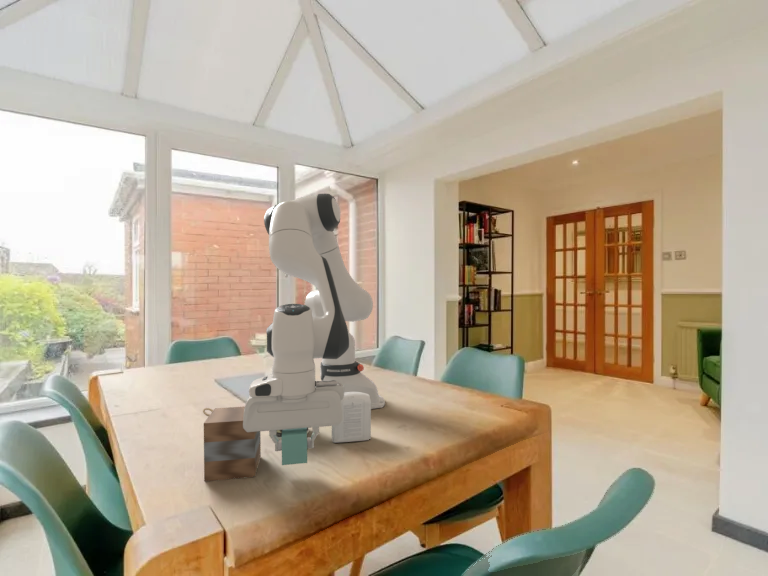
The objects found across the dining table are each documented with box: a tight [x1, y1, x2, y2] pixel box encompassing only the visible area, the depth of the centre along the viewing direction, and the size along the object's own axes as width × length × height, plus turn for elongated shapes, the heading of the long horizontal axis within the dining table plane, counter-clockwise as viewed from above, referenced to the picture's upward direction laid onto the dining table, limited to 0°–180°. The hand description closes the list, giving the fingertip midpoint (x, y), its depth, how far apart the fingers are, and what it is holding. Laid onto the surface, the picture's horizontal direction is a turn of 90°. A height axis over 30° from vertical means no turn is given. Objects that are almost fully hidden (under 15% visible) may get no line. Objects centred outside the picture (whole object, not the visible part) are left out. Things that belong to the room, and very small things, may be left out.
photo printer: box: [331, 392, 372, 444], centre depth 104 cm, size 10×4×12 cm, turn 103°
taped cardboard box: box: [203, 406, 262, 482], centre depth 88 cm, size 10×10×12 cm
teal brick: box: [281, 428, 308, 466], centre depth 84 cm, size 5×5×6 cm
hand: (294, 448), depth 84 cm, fingers closed on teal brick, 5 cm apart
